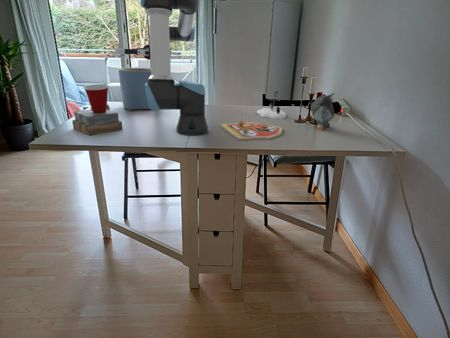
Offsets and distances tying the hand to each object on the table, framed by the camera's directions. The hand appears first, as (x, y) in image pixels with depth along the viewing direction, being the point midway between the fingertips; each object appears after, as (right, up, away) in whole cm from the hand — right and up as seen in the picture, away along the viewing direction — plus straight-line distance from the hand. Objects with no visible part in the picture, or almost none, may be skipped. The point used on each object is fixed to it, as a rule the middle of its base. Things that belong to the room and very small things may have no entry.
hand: (127, 52), depth 142 cm
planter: (-9, -16, +53) cm, 56 cm away
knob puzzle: (+61, -37, +9) cm, 72 cm away
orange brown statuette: (-22, -26, +26) cm, 43 cm away
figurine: (+75, -22, +46) cm, 90 cm away
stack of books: (-15, -36, +1) cm, 39 cm away
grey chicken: (+97, -33, +20) cm, 104 cm away
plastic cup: (-13, -29, -1) cm, 32 cm away
